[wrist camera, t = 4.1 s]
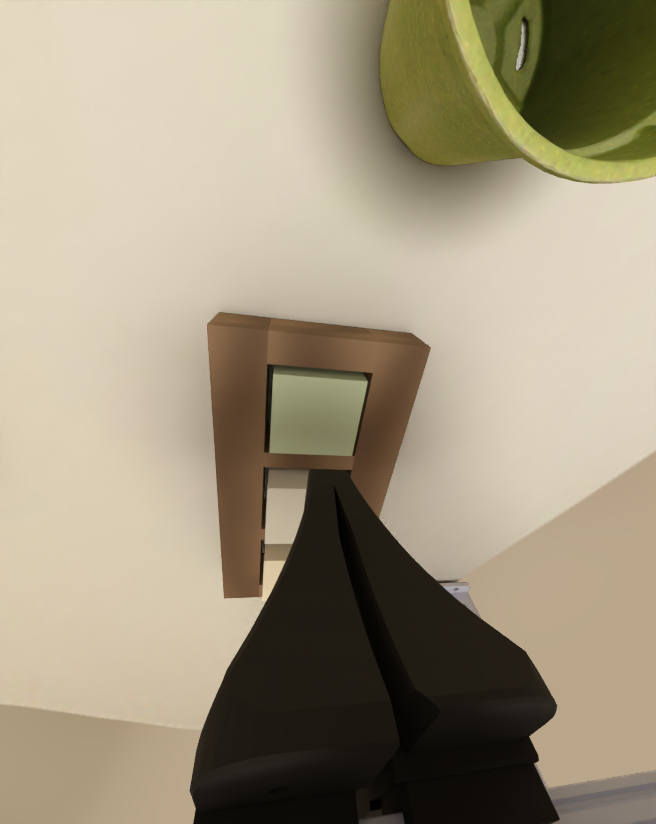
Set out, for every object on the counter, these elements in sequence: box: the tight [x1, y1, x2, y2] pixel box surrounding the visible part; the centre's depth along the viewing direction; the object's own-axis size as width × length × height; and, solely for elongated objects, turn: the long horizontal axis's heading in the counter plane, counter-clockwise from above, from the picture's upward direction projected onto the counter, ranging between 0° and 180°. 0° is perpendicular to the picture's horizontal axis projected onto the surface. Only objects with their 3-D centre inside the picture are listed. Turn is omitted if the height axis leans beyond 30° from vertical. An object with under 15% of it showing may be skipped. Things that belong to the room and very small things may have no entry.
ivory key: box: [265, 467, 340, 544], centre depth 18 cm, size 4×4×2 cm
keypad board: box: [207, 312, 431, 598], centre depth 19 cm, size 10×20×2 cm, turn 172°
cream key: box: [262, 544, 292, 601], centre depth 21 cm, size 4×4×2 cm
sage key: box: [269, 365, 368, 456], centre depth 16 cm, size 4×4×2 cm
